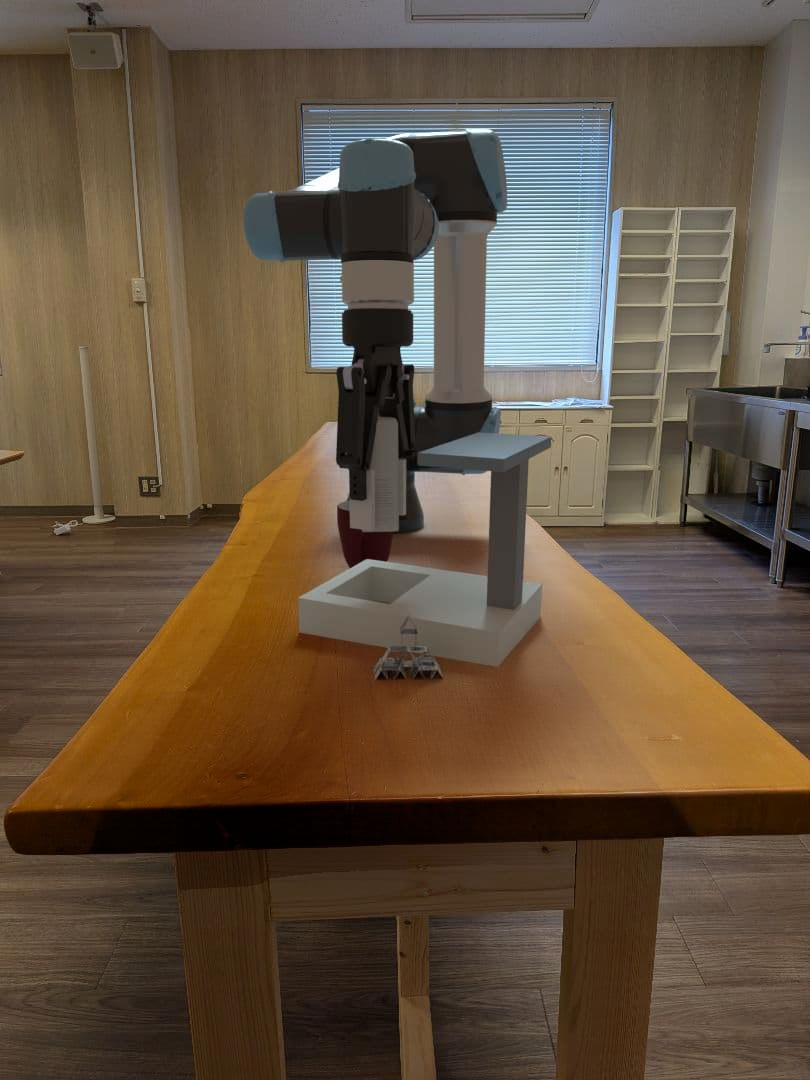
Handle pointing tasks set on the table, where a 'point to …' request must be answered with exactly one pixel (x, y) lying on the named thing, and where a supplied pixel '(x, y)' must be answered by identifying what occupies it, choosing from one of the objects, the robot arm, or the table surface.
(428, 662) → the house of cards
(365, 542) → the mug
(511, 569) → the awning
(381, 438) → the skincare box
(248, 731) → the table surface
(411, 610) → the socket block
